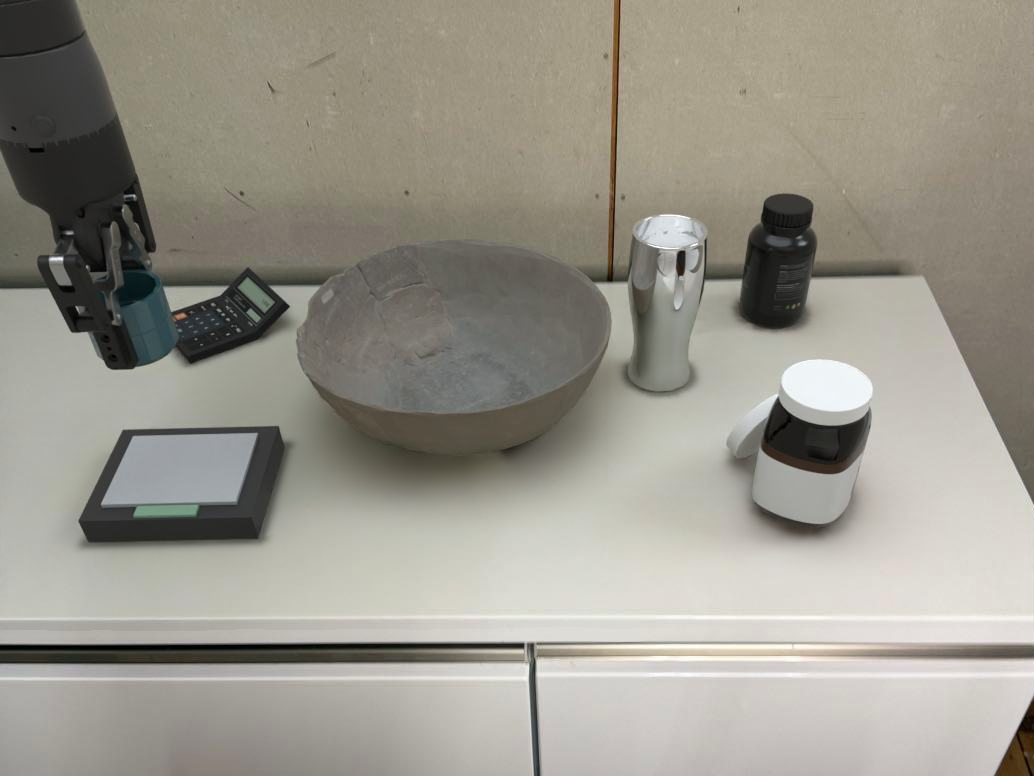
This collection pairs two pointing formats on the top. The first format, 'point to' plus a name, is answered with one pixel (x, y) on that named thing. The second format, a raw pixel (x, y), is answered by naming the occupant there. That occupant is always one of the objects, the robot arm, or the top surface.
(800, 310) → the supplement bottle
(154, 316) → the teal cup
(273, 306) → the calculator
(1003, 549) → the top surface
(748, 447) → the spread jar
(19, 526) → the top surface
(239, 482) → the kitchen scale
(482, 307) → the bowl
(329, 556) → the top surface
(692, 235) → the beer glass
